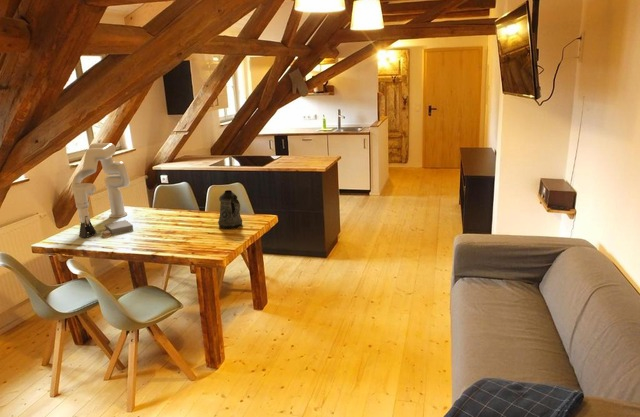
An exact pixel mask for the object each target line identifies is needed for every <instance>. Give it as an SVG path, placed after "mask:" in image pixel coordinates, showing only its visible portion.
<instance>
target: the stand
mask: <svg viewBox="0 0 640 417" xmlns="http://www.w3.org/2000/svg"><path fill="white" fill-rule="evenodd" d="M104 228H105V231H107V230H108V231H110V232H111V236H115V235H119V234H124V233H128V232H132V231H133V232H134V227H133V224H132V223H131V222H129V221H127V220H126V219H124V220H118V221H113V222H108V223H104Z"/></svg>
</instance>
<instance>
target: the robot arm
mask: <svg viewBox="0 0 640 417" xmlns="http://www.w3.org/2000/svg"><path fill="white" fill-rule="evenodd" d="M115 154H116V145H115V144H113V143H111V142H104V143H103V142H97V143H91V144H89V146H88V149H86V151H85V155H84V159H83V164H82V165H83V166H82V169H80V170H79V171H78V172H77V173H76V174H75V176H74V177H73V178H72V184H71V192H72V194H73V196H74V197H73V198H74V202H75V207H76V209H77V213H78V219H79V222H80V223H81V222H82V223H84V224H85V230H86V229H87V233H88V232H91V228H90V224H89V222H91V217H90V213H89V207H90V203H89V199H88V198H89V197H88V196H91V195H93V194H94V193H95V192H96V191H97V188H96V187H97V186H96V185H95V184H93V183H92V182H91V183H90V182H88V183H87V182H86V183H85V182H84V183H83V182H82V181H83V180H84V179H85V178H87V177H89V176H91V175H93V174H95V173H96V172H97V170H98V164H99V161H100V164H101V167H102V170H103V172H104V174H105V175H106V177H105V178H104V184H105V187H106V190H107V195H108V202H109V209H110V214H109V218H113V219H117V218H122V217H126V216H127V215H128V212H126V211H125V205H124V198H123V193H122V191H121V189H120V188H127V187H129V186H131V178H130V175H129V172H128V168H127V165H126V164H125V162H124V161H115V160H114V158H113V156H114V155H115ZM85 221H86V222H85ZM86 223H87V224H86Z"/></svg>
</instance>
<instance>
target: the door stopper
mask: <svg viewBox="0 0 640 417" xmlns="http://www.w3.org/2000/svg"><path fill="white" fill-rule="evenodd" d="M85 222H86V221H85ZM86 224H87V223H86ZM89 224H90V228H91V232H88V233H87V229H86V230H85V224H84V223H82V222H81V221H80V226H79V235H78V237H80V238H84V239H86V238H88V237H91V236H95V235H96V234H97V231H96V229H95V227H94V225H93V224H92V223H91V221H90V222H89Z"/></svg>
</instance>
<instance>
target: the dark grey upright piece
mask: <svg viewBox="0 0 640 417" xmlns="http://www.w3.org/2000/svg"><path fill="white" fill-rule="evenodd" d="M218 199H219V202H220V205H219V206H220V207H219V217H218V221H217V223H218V227H219V228H220V229H222V230H235V229H238V227H239V228H241V227H242V226H243V219H242V216H241V213H240V211H241V204H240V201H239V199H238V195H236V194H235V193H234V192H233V191H232V190H230V189H229V190H227V189H226V190H225V191H224V192H223V193H222V194H221V195H220V196H219V198H218ZM240 226H241V227H240ZM234 228H235V229H234Z"/></svg>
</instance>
